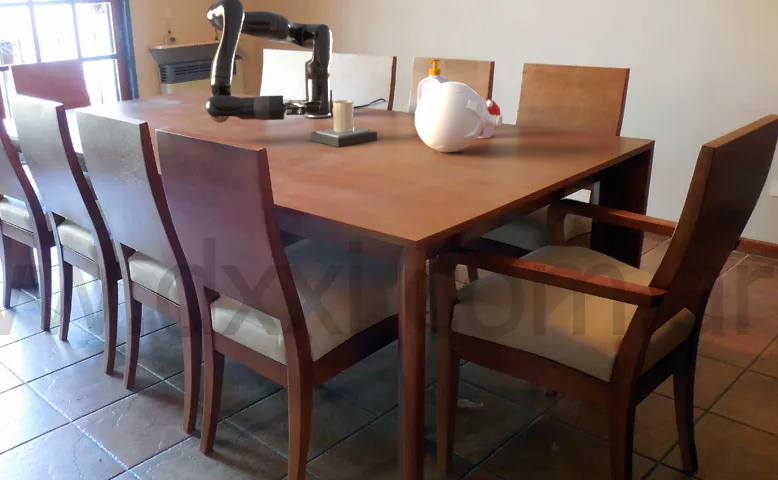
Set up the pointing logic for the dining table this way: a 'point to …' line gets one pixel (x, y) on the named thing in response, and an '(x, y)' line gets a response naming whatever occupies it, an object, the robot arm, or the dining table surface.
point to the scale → (343, 136)
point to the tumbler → (343, 115)
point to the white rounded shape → (452, 117)
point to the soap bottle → (430, 80)
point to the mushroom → (492, 110)
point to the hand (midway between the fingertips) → (320, 106)
